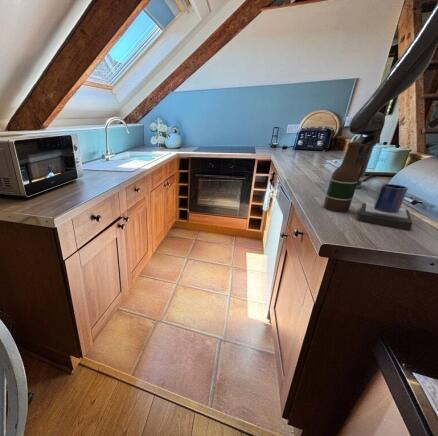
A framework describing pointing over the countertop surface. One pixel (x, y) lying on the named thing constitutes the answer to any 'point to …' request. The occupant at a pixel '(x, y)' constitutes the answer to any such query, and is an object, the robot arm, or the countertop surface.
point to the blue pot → (390, 198)
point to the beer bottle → (343, 181)
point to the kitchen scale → (385, 217)
